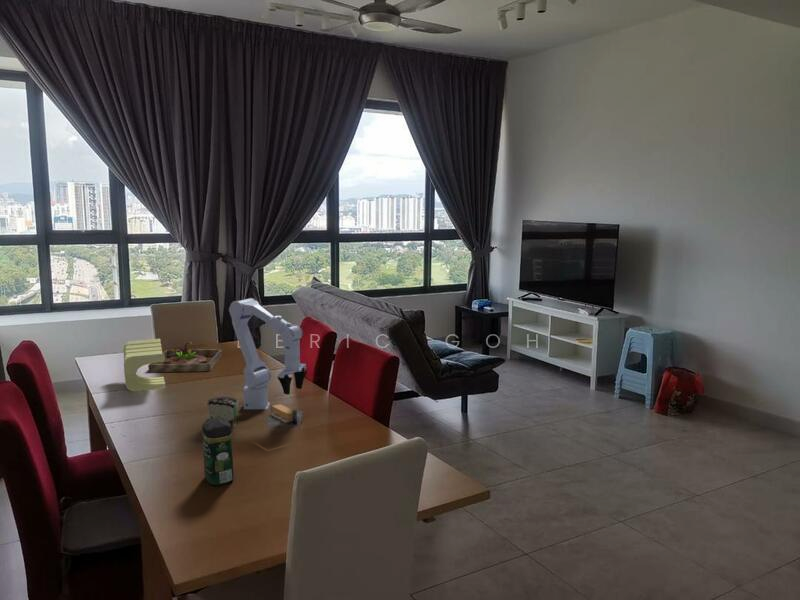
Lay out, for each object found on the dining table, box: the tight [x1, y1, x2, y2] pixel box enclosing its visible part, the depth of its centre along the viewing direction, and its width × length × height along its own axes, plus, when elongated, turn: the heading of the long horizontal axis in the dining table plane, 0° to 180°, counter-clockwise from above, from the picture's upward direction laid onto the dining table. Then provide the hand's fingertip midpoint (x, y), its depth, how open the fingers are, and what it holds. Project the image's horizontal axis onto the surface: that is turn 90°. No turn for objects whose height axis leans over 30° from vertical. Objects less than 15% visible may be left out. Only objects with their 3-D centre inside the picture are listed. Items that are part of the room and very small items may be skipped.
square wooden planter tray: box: [147, 348, 223, 373], centre depth 311 cm, size 29×29×4 cm
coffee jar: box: [201, 417, 235, 486], centre depth 184 cm, size 10×8×19 cm
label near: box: [279, 417, 293, 422], centre depth 233 cm, size 5×5×1 cm
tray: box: [266, 409, 303, 427], centre depth 234 cm, size 12×15×5 cm
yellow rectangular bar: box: [270, 403, 294, 420], centre depth 235 cm, size 12×4×2 cm, turn 42°
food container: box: [206, 396, 240, 430], centre depth 228 cm, size 12×6×10 cm, turn 71°
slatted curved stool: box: [123, 338, 166, 393], centre depth 273 cm, size 30×16×18 cm, turn 24°
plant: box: [162, 341, 208, 364], centre depth 311 cm, size 20×20×11 cm
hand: (292, 391), depth 238 cm, fingers open, 7 cm apart
